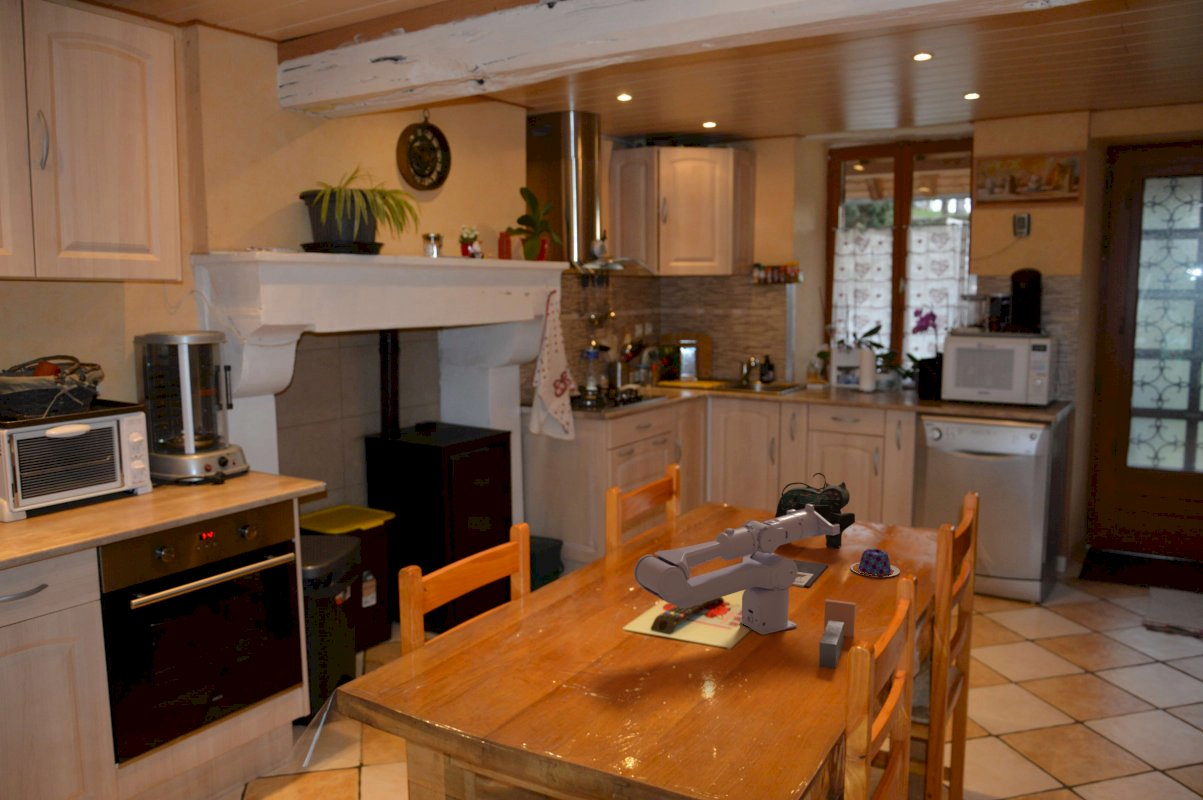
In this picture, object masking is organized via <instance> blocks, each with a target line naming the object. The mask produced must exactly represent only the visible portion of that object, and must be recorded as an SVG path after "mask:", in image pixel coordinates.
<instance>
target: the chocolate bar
mask: <svg viewBox="0 0 1203 800" xmlns="http://www.w3.org/2000/svg"><path fill="white" fill-rule="evenodd" d="M792 560H793V561H794V562H795V563H796V565H797V577H796V579H795V581H794V583H793V584H792V585H791V586H793V585H794V587H799V586H801V587H800V588H805V587H806V589H810V588H811V587H812V586H813V585H814V584H815V583H816V581H817V580H818V579H819V578H820V577H821V576H822V574H824V572H825V571H826V570H827V569H828V567H829V564H824V563H819V562H811V561H804V560H796V559H792ZM826 568H827V569H826ZM825 569H826V570H825ZM824 570H825V571H824ZM819 576H820V577H819ZM818 577H819V578H818ZM813 583H814V584H813Z"/></svg>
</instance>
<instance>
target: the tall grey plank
mask: <svg viewBox="0 0 1203 800" xmlns="http://www.w3.org/2000/svg"><path fill="white" fill-rule="evenodd" d="M844 637H845V636H844V622H838V621H830V620H829V621H828V624H827V626H826V629H825V631H824V630H823V634H822V636H821V639H820V641H819V660H818V661H819V663H818V667H820V668H825V669H832V670H836V668H837V665H838V662H839V659H840V656H841V653H842V651H843V647H844V642H845V641H844V639H845V638H844Z"/></svg>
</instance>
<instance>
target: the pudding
mask: <svg viewBox="0 0 1203 800" xmlns="http://www.w3.org/2000/svg"><path fill="white" fill-rule="evenodd" d="M859 560H860V561H858V562H855V563H852V564H851V565H850V567H849V568H850V570H852V572H855V573H857V574H859V575H863V576H865V575H864V574H865V572H866V573H868V574H872V575H875V574H877V575H885V574H892V571H891V569H892V570H894V572H893V574H892V575H889V576H888V575H885V576H883V577H882V578H887V577H888V578H889V577H893V576H896V575H899V574H900V572H901V570H900V569H899V568H898V567H897V566H895V565H892V564H891V563H890V562H891V561H890V557H889V554H888V552H887V551H885V550H882V549H877V548H867V549H866V550H864V551H863V552H862V554H861V558H860V559H859ZM856 564H859V567H858V569H860V570H859V572H860V571H861V572H864V573H863V574H860V573H861V572H860V573H858V572H856V571H854V570H853V566H855V565H856ZM858 569H857V570H858ZM872 575H871V576H872ZM877 575H875V576H872V577H875V578H876V577H877V578H879V577H878V576H877ZM866 576H867V577H870V576H869V575H867V574H866Z"/></svg>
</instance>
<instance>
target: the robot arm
mask: <svg viewBox="0 0 1203 800" xmlns="http://www.w3.org/2000/svg"><path fill="white" fill-rule="evenodd" d="M828 515H830V520H828V521H827V520H826V519H824V518H825V517H827V516H828ZM855 523H856V514H855V513H854V512H846V513H845V512H844V513H841V514H835V513H832V512H830V506H828V505H811V504H804V503H798V504H797V510H794V509H792V510H788V511H787V515H785V516H781V517H778V518H775V517H774V518H770V519H767V520H764V521H762V522H760V521H758V520H746V521H745V522H744V523H743V524H742V526H741V527H738V528H731V527H729V528H727V527H726V528H724V531H723V532H719V533H718V534H717V535H716V537H715V539H714V540H712V541H708V542H702V543H699V544H694V545H689V546H683V547H680V548H673V549H665V550H658V551H655V552H654V553H653V554H645V555H643V556H641V557H640V558H639V559H638V560H637V561H636V564H635V565H634V569H633V576H634V580H635V581H636V582H637V584H638V585H639V586H640V587H641V588H642V589H643V590H645V591H646V592H648V593H649V594H651V595H653V596H655V597H657V598H659V599H661V600H662V601H664V602H666V603H667V604H671V605H673V606H675V607H677V608H680V609H689V608H692V607H695V606H697V605H701V604H704V603H707V602H710V601H713V600H716V599H719V598H722V597H725V596H726V597H727V596H728V595H732V594H735V593H738V592H741V591H743V592H742V593H743V594H742V595H741V619H740V620H738V622H740V623H739V624H741V623H742V624H741V625H743V624H744V625H746V626H748V627H750V628H751V629H750V628H749V629H750V630H753V631H754V632H756V633H758V634H760V635H762V636H763V635H769V634H772V633H776V632H781V631H784V630H789V629H793V628H797V626H798V625H797V623H795V622H794V621H791V620H789V601H790V600H789V599H790V597H789V596H790V588H792V586H793V585H792V584H793V583H794V581H795V579H796V577H797V565H796V563H795V562H794V561H793V560H794V559H792V558H787V557H784V556H782V555H780V554H776V553H774V552H775V551H776V550H777V549H778V548H779V547H781V546H782V545H786V544H790V543H793V542H796V541H801V540H804V539H808V538H810V537H812V538H814V537H820V536H822V537H823V536H826V535H829V538H832V539H838V538H839V537H840V536H841V534H842V535H843V533H844V531H846V530H847V528H849V527H850V526H852V525H854V524H855ZM655 555H656V556H655ZM741 557H742V560H741V562H740V563H737V564H734V565H733V564H732V565H730V566H726V567H722V568H720V569H717V570H714V571H710V572H707V573H704V574H703V573H702V574H700V575H696V576H693V577H690V575H691V571H692V568H695V567H698V566H699V565H702V564H705V563H708V562H711V561H713V560H716V559H718V558H720V559H721V560H723V561H726V562H728V561H732V560H735V559H739V558H741ZM744 625H743V626H744ZM746 626H745V627H746ZM748 627H747V628H748Z"/></svg>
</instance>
